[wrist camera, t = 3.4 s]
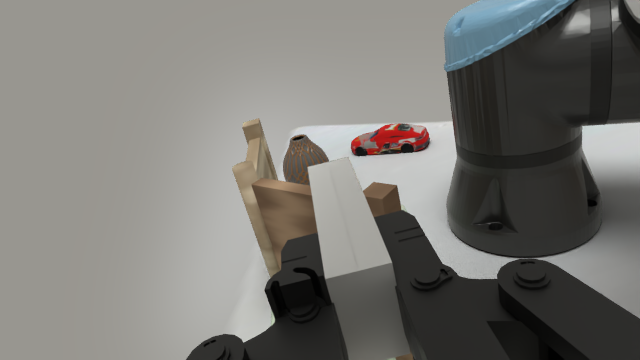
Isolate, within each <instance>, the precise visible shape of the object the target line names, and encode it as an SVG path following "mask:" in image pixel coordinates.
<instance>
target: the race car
mask: <svg viewBox="0 0 640 360" xmlns="http://www.w3.org/2000/svg"><path fill="white" fill-rule="evenodd" d="M429 140H430V138H429V133H428V132H427V130H426V128H425V127H423V126H416V125H412V124H390V125H385V126H383V127H382V128H380V129H378V130H376V131H375V132H370V133H366V134H363V135H361V136H358V137H356V138H355V139H354V140H353V141H352V143H351V149H352V152H353V153H354V154H357V155H358V156H366V155H367V153H368V155H372V154H386V153H401V151H402V152H403V153H412V152H413V150H414V151H417V150H420V149H423V148H425V147H426V146H427V145H428V143H429Z"/></svg>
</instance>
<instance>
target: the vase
mask: <svg viewBox="0 0 640 360" xmlns="http://www.w3.org/2000/svg"><path fill="white" fill-rule="evenodd" d="M326 162H329V160H328V157H327V156H326V154H325V152H324V151H323V150H322V149H321V148H320V147H319V146H317V145H316V144H315V143H313V142H312V141H311V140H310V139H309V138H308V137H307V136H306V135H297V136H294V137H292V138H291V139H290V145H289V148H288V150H287V153H286V155H285V158H284V162H283V172H284V177H285V180H286V182H291V183H297V184H303V185H309V186H310V180H309V174H308V168H307V167H310V166H314V165H318V164H322V163H326Z"/></svg>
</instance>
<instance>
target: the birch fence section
mask: <svg viewBox="0 0 640 360" xmlns="http://www.w3.org/2000/svg"><path fill="white" fill-rule="evenodd" d="M243 131H244V134H245V137H246V140H247V143H248V151H247V157H246V161H245V162H241V163H239V164H236V165H235V166H233V168H232V170H233V173H234V176H235V179H236V182H237V184H238V187H239V190H240V193H241V195H242V198H243V201H244V204H245V207H246V210H247V213H248V215H249V218H250V221H251V224H252V227H253V230H254V232H255V235H256V238H257V241H258V244H259V246H260V249H261V252H262V255H263V258H264V260H265V263H266V266H267V269H268V272H269V275H270V277H272V276H273V275H274V274H276V273H277V272H279V271H280V268H279V265H278V262H277V259H276V256H275V253H274V250H273V247H272V244H271V241H270V238H269V235H268V232H267V229H266V227H265V224H264V221H263V218H262V215H261V212H260V209H259V206H258V203H257V200H256V197H255V194H254V191H253V188H252V185H251V184H253V183H254V182H256V181H257V180H259V179H260V178H266V179H272V180H278V178H277V174H276V171H275V168H274V165H273V162H272V158H271V155H270V152H269V149H268V146H267V142H266V139H265V136H264V133H263V129H262V126H261V123H260V120H259V119H255V120H251V121H248V122H244V123H243Z"/></svg>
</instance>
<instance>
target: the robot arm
mask: <svg viewBox="0 0 640 360" xmlns="http://www.w3.org/2000/svg"><path fill="white" fill-rule="evenodd" d="M444 40H445V58H446V62H445V65H444V68H445V70H446V72H447V78H448V86H449V94H450V102H451V111H452V118H453V127H454V135H455V142H456V151H457V160H456V164H455V168H454V172H453V177H452V181H451V185H450V189H449V193H448V197H447V214H448V221H449V225H450V228H451V230H452V231H453V232H454V234H455V235H456V236H457V237H458V238H460V239H461V240H462V241H464V242H465V243H467V244H469V245H471V246H473V247H475V248H478V249H481V250H484V251H487V252H491V253H495V254H501V255H508V256H542V255H549V254H554V253H559V252H563V251H566V250H569V249H572V248H574V247H577V246H579V245H581V244H583V243H584V242H586V241H587V240H589V239H590V238H591V237H592V236H593V235H594V234H595V233H596V232H597V231H598V229H599V227H600V224H601V216H602V200H601V195H600V193H599V190H598V188H597V185H596V183H595V180H594V178H593V175H592V173H591V170H590V168H589V165H588V163H587V160H586V158H585V155H584V152H583V150H582V126H589V125H605V124H621V123H638V122H640V0H480V1H478V2H476V3H474V4H471V5H469V6H467V7H465V8H463V9H462V10H460V11H459V12H457V13H456V14H455V15H454V16H453V17H452V18H451V19H450V20H449V21H448V23H447V25H446V28H445V32H444ZM307 168H308V174H309V180H310V186H311V193H312V199H313V205H314V212H315V218H316V224H317V231H318V232H317V233H314V234H310V235H306V236H302V237H298V238H294V239H290V240H287V242H286V244H285V245H284V247H283V249H282V250H281V270H280V271H279V272H277V273H276V274H274V275H273V276H272V277H271V278H270V279H269V281H268V282H267V284H266V287H265V293H266V295H267V298H268V301H269V304H270V307H271V309H272V312H273V315H274V318H275V322H274V324H273V325H272V326H271V327H269V328H268V329H267V330H266V331H264V332H263V333H261V334H260V335H258V336H256V337H254V338H252V339H250V340H248V341H246V342H244V343H243V341H242V339H240V338H239V337H237V336H235V335H229V334H223V335H219V336H215V337H212V338H210V339H208V340H206V341H204V342H202V343H201V344H200V345H199V346H197V347H196V348H195V349H194V350H193V351H192V352H191V354H190V355H189V356H188V358H187V359H186V360H386V359H390V358H395V357H399V356H403V355H407V354H411V353H410V350H411V352H412V355H413V360H640V319H639V318H638V317H636V316H635V315H633V314H631V313H630V312H628V311H627V310H625V309H624V308H622V307H620V306H619V305H617V304H616V303H614V302H613V301H611V300H610V299H608V298H606V297H605V296H603V295H602V294H600V293H599V292H597V291H595V290H594V289H592V288H591V287H589V286H588V285H586V284H584V283H583V282H581V281H580V280H578V279H577V278H575V277H573V276H572V275H570V274H569V273H567V272H566V271H564V270H562V269H561V268H559V267H558V266H556V265H554V264H551V263H549V262H547V261H543V260H538V259H519V260H515V261H512V262H509V263H507V264H506V265H504V266H503V267H501V268H500V270H499V272H498V274H497V279H468V278H464V277H460V276H458V275H457V273H456V272H455V271H454V270H453V269H452V268H451V267H448V266H446V265H444V264H442V262H441V260H440V259H439V257H438V255H437V254H436V252H435V250H434V249H433V247H432V245H431V244H430V242H429V240H428V238H427V237H426V236H425V233H424V232H423V230H422V228H421V227H420V225H419V223H418V222H417V220H416V218H415V217H414V216H413V215H411V214H409V213H407V212H406V211H404V210H400V211H396V212H392V213H388V214H384V215H380V216H376V217H373V215H372V212H371V210H370V208H369V205H368V203H367V200H366V198H365V195H364V193H363V191H362V188H361V186H360V183H359V181H358V178H357V176H356V173H355V171H354V169H353V166H352V164H351V161H350V159H349V157H345V158H341V159H337V160H333V161H330V162H326V163H322V164H318V165H314V166H310V167H307ZM409 347H410V348H409Z"/></svg>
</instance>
